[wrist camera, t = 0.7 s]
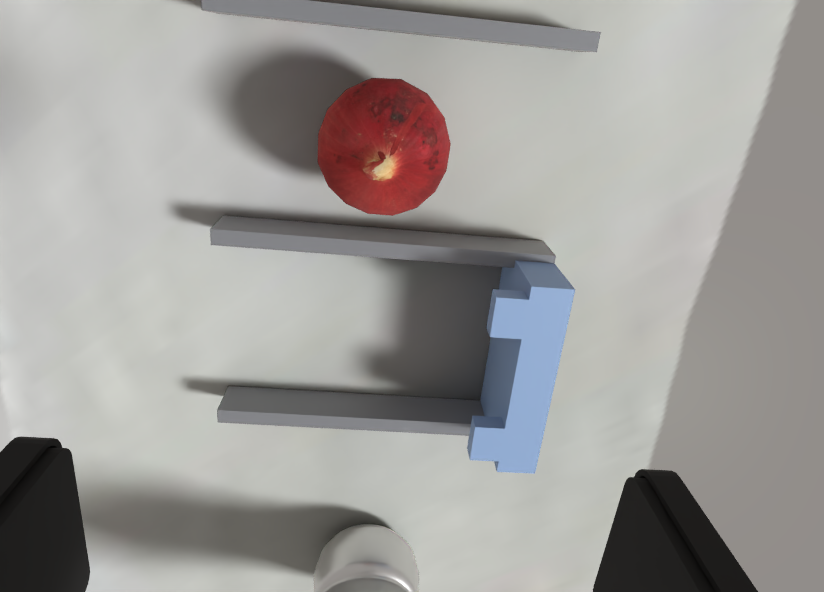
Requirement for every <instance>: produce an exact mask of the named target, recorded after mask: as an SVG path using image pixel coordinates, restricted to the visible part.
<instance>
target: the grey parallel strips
mask: <svg viewBox="0 0 824 592" xmlns="http://www.w3.org/2000/svg"><path fill="white" fill-rule="evenodd" d="M201 2H202V10H204V11H209V12H213V13H218V14H228V15H237V16H247V17H256V18H266V19H275V20H284V21H294V22H303V23H313V24H322V25H332V26H341V27H351V28H360V29H369V30H379V31H388V32H398V33H407V34H417V35H426V36H435V37H445V38H454V39H464V40H473V41H483V42H492V43H502V44H511V45H520V46H530V47H539V48H549V49H558V50H568V51H577V52H597V48H598V43H599V38H600V33H601V32H595V31H586V30H576V29H567V28H558V27H549V26H540V25H531V24H521V23H512V22H503V21H494V20H485V19H475V18H466V17H457V16H448V15H439V14H430V13H420V12H411V11H402V10H393V9H384V8H374V7H365V6H356V5H347V4H338V3H329V2H319V1H310V0H201ZM210 236H211V245H219V246H232V247H245V248H258V249H272V250H285V251H298V252H311V253H324V254H337V255H351V256H364V257H377V258H390V259H403V260H416V261H429V262H443V263H456V264H469V265H482V266H495V267H508V268H514V266H515V260H516V261H529V262H542V263H555V258H556V256H555V254H554V253H553V252H552V251H551V250H550V248H549V247H548V246H547V245H546V244H545V242H544V241H538V240H525V239H513V238H500V237H488V236H475V235H463V234H450V233H438V232H425V231H413V230H400V229H388V228H375V227H363V226H350V225H338V224H325V223H313V222H300V221H288V220H275V219H263V218H250V217H238V216H225V215H223V216H222V217H221V218H220V219H219V220H218V222H217V223H216V224H215V225H214V226H213V227H212V228H211V229H210ZM472 416H484V412H483V408H482V405H481V401H480V400H462V399H445V398H428V397H411V396H394V395H376V394H359V393H342V392H325V391H307V390H290V389H273V388H256V387H238V386H228V388H227V390H226V392H225V394H224V397H223V399H222V401H221V403H220V405H219V407H218V410H217V418H218V422H221V423H239V424H258V425H277V426H296V427H315V428H333V429H352V430H371V431H390V432H408V433H427V434H446V435H465V436H469V434H470V427H471V421H472Z"/></svg>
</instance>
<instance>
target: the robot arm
mask: <svg viewBox="0 0 824 592" xmlns="http://www.w3.org/2000/svg"><path fill="white" fill-rule="evenodd" d="M89 575H90V567H89V560H88V554H87V548H86V541H85V535H84V529H83V522H82V516H81V510H80V503H79V497H78V491H77V484H76V478H75V472H74V465H73V459H72V454H71V451H70V450H69V449H67V448H62V446H61V443H60V442H59V440H58V439H54V438H36V437H17V438H14V439H13V440H12V441H11V442H10V443H9V444H8V445H7V446H6V447H5V448H4V449H3V450H2V451H1V452H0V592H85V590H86V588H87V585H88V581H89ZM593 592H758V591H757V590H756V588H755V587H754V585H753V584H752V582H751V581H750V579H749V578H748V576H747V575H746V573H745V572H744V571H743V569H742V568H741V566H740V565H739V563H738V562H737V560H736V559H735V557H734V556H733V555H732V553H731V552H730V550H729V549H728V547H727V546H726V544H725V543H724V541H723V540H722V538H721V537H720V535H719V534H718V533H717V531H716V530H715V528H714V527H713V525H712V524H711V523H710V521H709V519H708V518H707V516H706V515H705V514H704V512H703V511H702V509H701V508H700V506H699V505H698V503H697V502H696V500H695V499H694V498H693V496H692V495H691V493H690V491H689V490H688V489H687V487H686V486H685V484H684V483H683V481H682V480H681V478H680V477H679V476H678V475H677V473H675V472H673V471H665V470H646V469H642V470H639V471H638V472H637V473H636V474H635V477H630V478H628V479H627V480H626V482H625V485H624V488H623V491H622V495H621V498H620V501H619V505H618V508H617V511H616V515H615V518H614V521H613V524H612V528H611V531H610V534H609V538H608V541H607V544H606V547H605V551H604V554H603V557H602V561H601V564H600V567H599V571H598V574H597V577H596V580H595V584H594V588H593Z"/></svg>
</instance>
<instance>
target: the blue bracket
mask: <svg viewBox="0 0 824 592" xmlns="http://www.w3.org/2000/svg"><path fill="white" fill-rule="evenodd" d="M574 293H575V289H574V288H573V286H572V285H571V284H570V283H569V281H568V280H567V279H566V278H565V276H564V275H563V274H562V273H561V271H560V270H559V269H558V267H557V266H556V265H555V264H554V263H542V262H529V261H516V260H515V266H514V268H508V267H502V272H501V278H500V284H499V290H498V289H493V290H492V296H491V303H490V309H489V315H488V321H487V330H488V333H489V336H490V337H491V339H490V345H489V351H488V357H487V363H486V369H485V375H484V382H483V388H482V394H481V400H480V401H481V405H482V408H483V412H484V416H472V421H471V427H470V434H469V440H468V446H467V449H468V454H469V458H470V460H481V461H494V463H495V466H496V470H497V472H515V473H535V471H536V466H537V462H538V457H539V453H540V448H541V443H542V439H543V434H544V430H545V425H546V421H547V416H548V411H549V407H550V402H551V398H552V393H553V389H554V384H555V379H556V375H557V370H558V366H559V361H560V357H561V352H562V347H563V343H564V338H565V334H566V329H567V325H568V320H569V316H570V311H571V306H572V302H573V297H574Z"/></svg>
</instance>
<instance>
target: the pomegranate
mask: <svg viewBox="0 0 824 592" xmlns="http://www.w3.org/2000/svg"><path fill="white" fill-rule="evenodd" d="M449 150H450V140H449V135H448V131H447V127H446V123H445V118H444V116H443V115H442V114H441V112H440V111H439V109H438V108H437V106H436V105H435V104H434V102H433V101H432V99H431V98H430V96H429V95H428V94H427V93H425V92H424V91H422V90H420V89H418V88H416V87H414V86H413V85H411V84H409V83H407V82H405V81H404V80H402V79H385V78H371V79H368V80H366V81H364V82H362V83H359V84H357V85H355V86H353V87H351V88H348V89H346V90H345V91H344V93H343V94H342V95H341V96H340V97H339V98H338V99H337V100H336V101H335V102H334V103H333V104H332V105H331V106H330V107H329V108H328V110H327V112H326V115H325V118H324V120H323V123H322V125H321V128H320V130H319V133H318V164H319V167H320V169H321V171H322V173H323V175H324V178H325V180H326V182H327V184H328V186H329V187H330V188H331V189H332V190H333V191H334V192H335V193H336V194H337V195H338V196H339V197H340V198H341V199H342V200H343V201H344V202H345V203H346V204H348V205H350V206H352V207H355V208H357V209H359V210H361V211H363V212H366V213H368V214H380V215H392V216H393V215H396V214H399V213H402V212H405V211H408V210H411V209H414V208H417V207H418V206H419V205H420V204H421V203H423V202H424V201H425V200H426V199H427V198H428V197H429V196H431V195H432V194H433V193H434V192H435V191H436V189H437V187H438V185H439V183H440V181H441V180H442V178H443V176H444V174H445V172H446V169H447V163H448V157H449Z"/></svg>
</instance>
